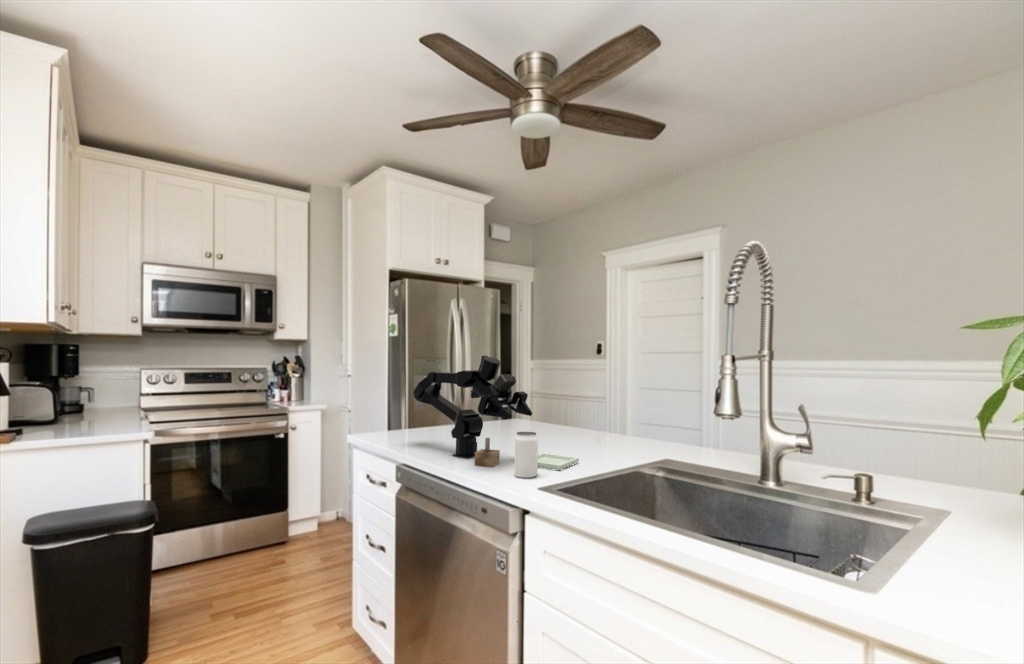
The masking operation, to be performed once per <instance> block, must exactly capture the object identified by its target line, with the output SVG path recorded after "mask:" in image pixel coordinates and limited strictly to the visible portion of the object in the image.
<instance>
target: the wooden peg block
mask: <svg viewBox="0 0 1024 664" xmlns="http://www.w3.org/2000/svg"><path fill="white" fill-rule="evenodd" d="M484 440H485V441H484V448H481V449H478V450H477V452H475V456H474V466H475V467H485V468H486V467H487V468H494V467H496V466H497V465H499V464H500V454H501V453H500V449H490V446H491V445H490V444H491V438H490V437H485V438H484ZM498 463H499V464H498ZM495 465H496V466H495Z"/></svg>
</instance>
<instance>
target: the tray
mask: <svg viewBox="0 0 1024 664" xmlns="http://www.w3.org/2000/svg"><path fill="white" fill-rule="evenodd" d="M579 461H580V460H579V457H573V456H567V455H561V454H551V453H545V452H542V453H539V454H538V458H537V467H542V468H541V469H543V468H549V469H548V470H550V469H556V470H561V469H564V468H566V467H568V466H570V465H572V464H575V463H577V462H579ZM579 463H580V462H579ZM566 469H567V468H566ZM556 470H555V471H556ZM564 470H565V469H564Z"/></svg>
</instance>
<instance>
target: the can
mask: <svg viewBox="0 0 1024 664" xmlns="http://www.w3.org/2000/svg"><path fill="white" fill-rule="evenodd" d="M538 440H539V439H538V436H537V432H534V431H517V432H516V436H515V438H514V475H515V477H516V476H517V477H516V478H519V477H520V479H533V478H532V477H534V478H536V477H537V476H538V468H537V458H538V455H539V454H538V453H539V452H538V442H539V441H538ZM535 476H536V477H535Z"/></svg>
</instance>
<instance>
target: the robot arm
mask: <svg viewBox="0 0 1024 664" xmlns="http://www.w3.org/2000/svg"><path fill="white" fill-rule="evenodd" d="M500 366H501V360H500V359H498V358H494V357H492V356H488V355H482V356H481V359H480V363H479V367H478V369H477V370H461V371H457V372H448V371H447V372H444V371H439V370H438V371H431V372H428V374H427V375H426V377H424V378H423V379H421V380H420V381H418V383H417V385H416V387H415V388H414V390H413V397H414V399H415V400H416V401H418V402H419V403H421V404H427V405H430V406H432V407H433V408H435V409H436V410H437V411H439V412H440V413H442V414H443V415H444V416H445V417H447V418H448V419H449V420H450V421H452V422H453V423H454V427H453V429H452V430H451V431H450V433H451V437H452V439H455V453H453V454H452V456H454V457H456V458H457V457H459V458H465V459H469V458H473V457H475V452H477V451H478V442H477V438H479V437H481V434H482V430H483V427H484V422H483V418H482V416H486V417H496V418H502V419H503V418H504V419H510V420H511V419H512V418H513V415H512V413H511V412H510V411H509V410H507V409H506V408H509V407H510V410H511V411H514V413H516V414H521V415H523V416H529V417H532V416H533V412H532V410H531V408H530V407H529V405H528V403H527V399H528V398H529V395H528V393H527V392H525V391H515V392H514V393H513V395H512V397H511V398H509V395H510V394H511V390H510V389H511V388H512V387H514V385H515V384H516V383H517V379H516V377H515V376H514V375H512V374H509V373H508V374H507V373H504V374H503V373H502V374H500V375H499V376H498V372H499V368H500ZM497 376H498V377H497ZM496 378H497V379H496ZM493 380H495V382H494V383H491V382H492V381H493ZM433 383H434V384H433ZM442 384H454V385H456V386H457V387H460V388H463V389H466V388H468V389H469V388H472V389H471V390H470V398H471V399H479V398H480V400H479V403H478V407H477V411H478V412H476V411H475V410H474V409H472V408H470V409H461V408H460V407H458V406H457V405H455V404H454V403H453V402H451V401H450V400H448V399H447V398H445V397H444V396H443V395H442V394H441V390H442ZM480 415H481V416H480Z"/></svg>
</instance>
